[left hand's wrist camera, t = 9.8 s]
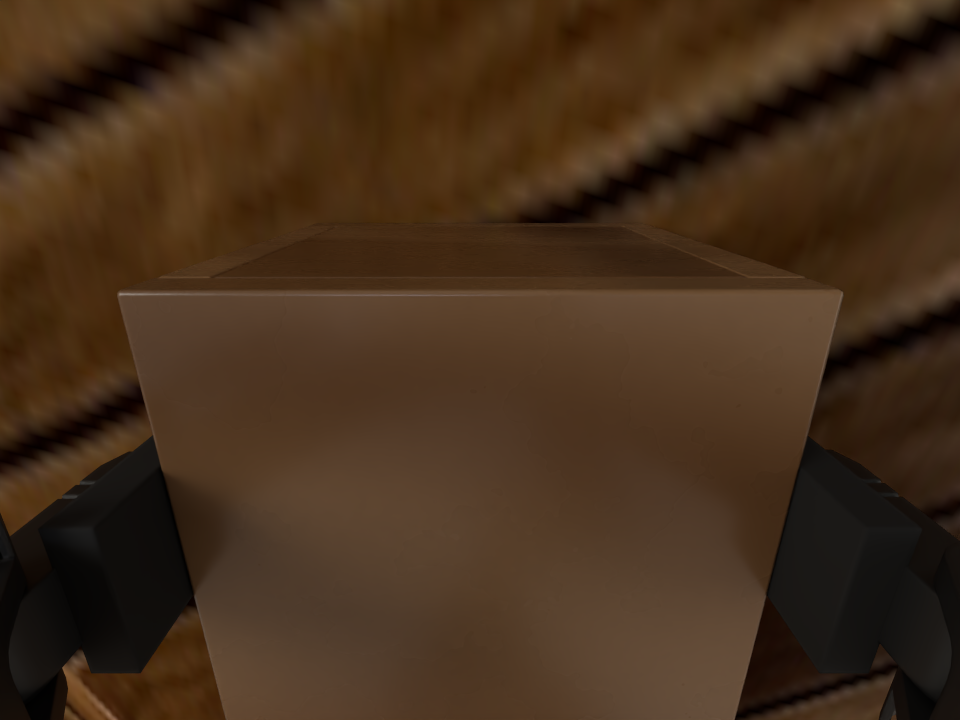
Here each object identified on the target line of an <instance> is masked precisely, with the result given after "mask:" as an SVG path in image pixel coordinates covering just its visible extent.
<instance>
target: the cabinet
mask: <svg viewBox="0 0 960 720" xmlns="http://www.w3.org/2000/svg"><path fill="white" fill-rule="evenodd" d="M843 296H844V295H843V291H842V290H840V289H837V288H834V287H831V286H828V285H825V284H822V283H819V282H816V281H814V280H811V279H808V278H805V277H804V276H801V275H798V274H795V273H792V272H789V271H786V270H783V269H780V268H777V267H774V266H771V265H768V264H765V263H762V262H759V261H756V260H753V259H750V258H747V257H744V256H741V255H738V254H734V253H731V252H728V251H725V250H722V249H719V248H716V247H713V246H710V245H707V244H704V243H701V242H698V241H695V240H692V239H689V238H686V237H683V236H680V235H677V234H674V233H671V232H668V231H665V230H662V229H659V228H656V227H653V226H649V225H646V224H643V223H317V224H314V225H311V226H308V227H305V228H302V229H299V230H296V231H293V232H290V233H287V234H285V235H282V236H279V237H276V238H273V239H270V240H267V241H264V242H261V243H258V244H255V245H252V246H249V247H246V248H243V249H240V250H237V251H234V252H231V253H228V254H225V255H222V256H219V257H216V258H213V259H210V260H207V261H204V262H201V263H198V264H196V265H193V266H190V267H187V268H184V269H181V270H178V271H175V272H172V273H169V274H166V275H163V276H160V277H158V278H154V279H151V280H148V281H145V282H142V283H139V284H136V285H133V286H130V287H127V288H124V289H122V290H120V291H118V294H117V297H118V301H119V305H120V309H121V313H122V317H123V320H124V324H125V328H126V332H127V336H128V340H129V344H130V348H131V352H132V356H133V359H134V363H135V367H136V371H137V375H138V379H139V383H140V387H141V391H142V394H143V398H144V402H145V406H146V410H147V414H148V418H149V422H150V426H151V430H152V433H153V437H154V441H155V445H156V449H157V453H158V457H159V461H160V465H161V469H162V472H163V476H164V480H165V484H166V488H167V492H168V496H169V500H170V504H171V507H172V511H173V515H174V519H175V523H176V527H177V531H178V535H179V539H180V543H181V546H182V550H183V554H184V558H185V562H186V566H187V570H188V574H189V578H190V581H191V585H192V589H193V593H194V597H195V601H196V605H197V609H198V613H199V617H200V620H201V624H202V628H203V632H204V636H205V640H206V644H207V648H208V652H209V656H210V659H211V663H212V667H213V671H214V675H215V679H216V683H217V687H218V691H219V694H220V698H221V702H222V706H223V710H224V714H225V718H226V720H735V716H736V712H737V708H738V705H739V701H740V697H741V693H742V689H743V685H744V681H745V677H746V673H747V670H748V666H749V662H750V658H751V654H752V650H753V646H754V642H755V638H756V635H757V631H758V627H759V623H760V619H761V615H762V611H763V607H764V603H765V600H766V596H767V592H768V588H769V584H770V580H771V576H772V572H773V568H774V565H775V561H776V557H777V553H778V549H779V545H780V541H781V537H782V533H783V530H784V526H785V522H786V518H787V514H788V510H789V506H790V502H791V498H792V495H793V491H794V487H795V483H796V479H797V475H798V471H799V467H800V463H801V460H802V456H803V452H804V448H805V444H806V440H807V436H808V432H809V428H810V425H811V421H812V417H813V413H814V409H815V405H816V401H817V397H818V393H819V390H820V386H821V382H822V378H823V374H824V370H825V366H826V362H827V358H828V355H829V351H830V347H831V343H832V339H833V335H834V331H835V327H836V323H837V320H838V316H839V312H840V308H841V304H842V300H843Z"/></svg>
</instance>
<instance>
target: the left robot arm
mask: <svg viewBox="0 0 960 720" xmlns="http://www.w3.org/2000/svg"><path fill="white" fill-rule="evenodd" d="M193 594H194V593H193V589H192V585H191V581H190V578H189V574H188V570H187V566H186V562H185V558H184V554H183V550H182V546H181V543H180V539H179V535H178V531H177V527H176V523H175V519H174V515H173V511H172V507H171V504H170V500H169V496H168V492H167V488H166V484H165V480H164V476H163V472H162V469H161V465H160V461H159V457H158V453H157V449H156V445H155V441H154V437H153V436H151V437H150V438H149V439H148V440H147V441H145V442H144V443H143V444H142V445H140V446H139V447H138V448H137V449H135V450H134V451H133V452H127V453H125V454H123V455H121V456H119V457H117V458H115V459H113V460H111V461H109V462H107V463H105V464H103V465H101V466H100V467H98V468H97V469H96V470H95V471H93V472H92V473H91V474H89V475H88V476H87V477H86V478H84V479H83V480H82V481H81V482H80V485H75V486H74V487H73V488H72V489H70V490H69V491H68V492H66V493H65V494H64V495H63V497H62V499H57V500H56V501H55V502H54V503H52V504H51V505H50V506H48V507H47V508H46V509H45V510H43V511H42V512H41V513H40V514H38V515H37V516H36V517H34V518H33V519H32V520H31V521H29V522H28V523H27V524H25V525H24V526H23V527H22V528H20V529H19V530H18V531H16V532H15V533H14V534H13V535H11V536H9V534H8V531H7V529H6V526H5V524H4V521H3V519H2V516H1V514H0V720H63V719H64V712H65V705H66V699H67V692H68V686H67V681H66V677H65V674H64V672H63V669H62V667H63V666H64V665H65V664H66V662H67V661H68V660H69V659H70V658H71V656H72V655H73V654H74V653H75V652H76V650H77V649H78V648H79V647H80V646H81V647H82V649H83V652H84V655H85V657H86V660H87V663H88V665H89V668H90V671H91V673H141V672H142V670H143V669H144V667H145V666H146V664H147V663H148V661H149V660H150V658H151V657H152V655H153V654H154V652H155V651H156V649H157V648H158V646H159V645H160V643H161V642H162V640H163V639H164V637H165V636H166V634H167V633H168V631H169V630H170V629H171V627H172V626H173V624H174V623H175V621H176V620H177V618H178V617H179V615H180V614H181V612H182V611H183V609H184V608H185V606H186V605H187V603H188V602H189V600H190V599H191V597H192V596H193ZM767 596H768V597H769V599H770V600H771V602H772V603H773V605H774V606H775V608H776V609H777V611H778V612H779V614H780V615H781V617H782V618H783V620H784V621H785V623H786V624H787V626H788V627H789V629H790V630H791V631H792V633H793V634H794V636H795V637H796V639H797V640H798V642H799V643H800V645H801V646H802V648H803V649H804V651H805V652H806V654H807V655H808V657H809V658H810V660H811V661H812V663H813V664H814V666H815V667H816V669H817V670H818V672H819V673H869V671H870V668H871V665H872V663H873V660H874V657H875V655H876V652H877V649H878V647H879V644H881V645H882V646H883V648H884V649H885V650H886V651H887V652H888V654H889V655H890V656H891V657H892V658H893V659H894V661H895V662H896V663H897V664H898V665H899V667H898V669H897V672H896V674H895V677H894V679H893V682H892V684H891V687H890V689H889V692H888V694H887V697H886V699H885V702H884V704H883V707H882V709H881V712H880V716H879V720H891V717H892V716H893V715H895V714H896V717H897V720H960V541H959V540H957V539H956V538H955V537H954V536H952V535H951V534H950V533H948V532H947V531H946V530H945V529H943V528H942V527H941V526H939V525H938V524H937V523H936V522H934V521H933V520H932V519H930V518H929V517H928V516H926V515H925V514H924V513H923V512H921V511H920V510H919V509H917V508H916V507H915V506H914V505H912V504H911V503H910V502H908V501H907V500H906V499H905V498H903V497H899V496H898V493H897V492H895V491H894V490H893V489H892V488H890V487H889V486H888V485H886V484H885V483H881V482H880V479H879V478H877V477H876V476H875V475H874V474H872V473H871V472H870V471H868V470H867V469H866V468H864V467H863V466H862V465H861V464H859V463H857V462H855V461H853V460H851V459H849V458H847V457H845V456H843V455H841V454H839V453H837V452H835V451H833V450H825V449H823V448H822V447H821V446H820V445H818V444H817V443H816V442H815V441H813V440H812V439H811V438H810V437H809V436H807V440H806V444H805V448H804V452H803V456H802V460H801V463H800V467H799V471H798V475H797V479H796V483H795V487H794V491H793V495H792V498H791V502H790V506H789V510H788V514H787V518H786V522H785V526H784V530H783V533H782V537H781V541H780V545H779V549H778V553H777V557H776V561H775V565H774V568H773V572H772V576H771V580H770V584H769V588H768V592H767Z"/></svg>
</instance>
